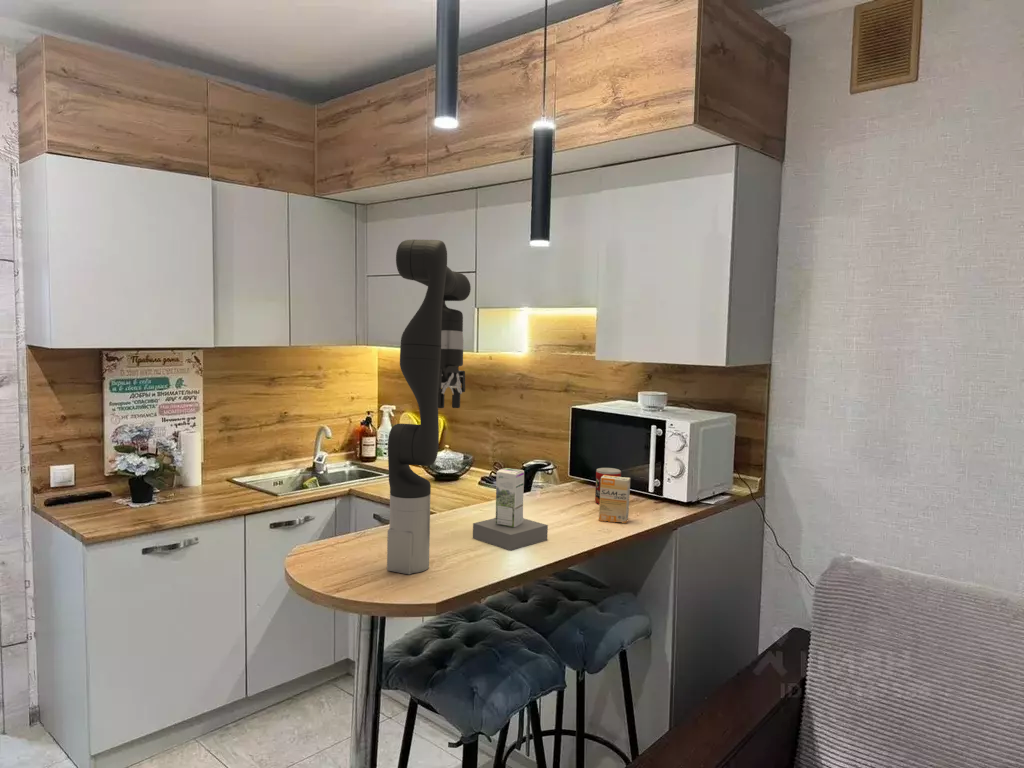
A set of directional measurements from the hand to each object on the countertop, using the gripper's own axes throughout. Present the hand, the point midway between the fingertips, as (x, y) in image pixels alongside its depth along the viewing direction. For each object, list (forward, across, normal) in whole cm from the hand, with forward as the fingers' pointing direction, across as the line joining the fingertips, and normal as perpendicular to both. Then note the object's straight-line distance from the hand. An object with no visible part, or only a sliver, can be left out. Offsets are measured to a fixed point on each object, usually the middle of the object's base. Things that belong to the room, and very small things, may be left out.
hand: (448, 408), depth 193 cm
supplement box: (+33, +36, -36) cm, 61 cm away
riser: (+34, +4, -17) cm, 39 cm away
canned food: (+31, +56, -28) cm, 70 cm away
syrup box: (+30, +4, -17) cm, 35 cm away
